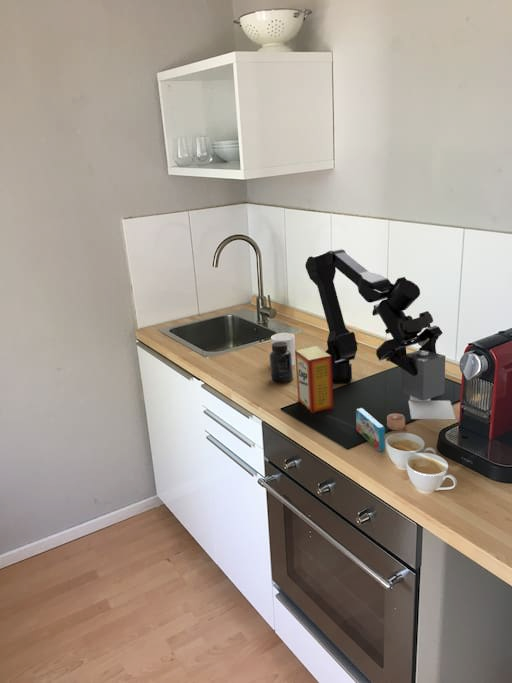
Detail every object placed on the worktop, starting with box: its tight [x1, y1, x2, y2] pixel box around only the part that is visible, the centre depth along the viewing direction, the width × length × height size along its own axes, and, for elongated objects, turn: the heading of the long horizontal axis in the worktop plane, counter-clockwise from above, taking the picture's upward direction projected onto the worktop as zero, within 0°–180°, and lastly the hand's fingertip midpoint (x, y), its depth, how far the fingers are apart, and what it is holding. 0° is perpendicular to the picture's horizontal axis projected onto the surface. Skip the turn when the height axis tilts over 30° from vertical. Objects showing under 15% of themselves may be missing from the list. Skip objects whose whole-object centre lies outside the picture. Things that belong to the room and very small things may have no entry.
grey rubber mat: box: [408, 400, 457, 420], centre depth 152 cm, size 11×11×1 cm
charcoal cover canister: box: [401, 349, 446, 401], centre depth 146 cm, size 7×7×11 cm
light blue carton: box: [355, 407, 386, 452], centre depth 140 cm, size 12×2×6 cm, turn 17°
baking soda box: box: [295, 345, 334, 413], centre depth 160 cm, size 10×6×16 cm
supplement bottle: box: [269, 342, 294, 384], centre depth 179 cm, size 7×7×12 cm
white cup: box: [270, 332, 296, 367], centre depth 192 cm, size 8×8×10 cm
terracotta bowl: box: [386, 413, 406, 431], centre depth 145 cm, size 4×4×3 cm
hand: (426, 371), depth 144 cm, fingers closed on charcoal cover canister, 7 cm apart
